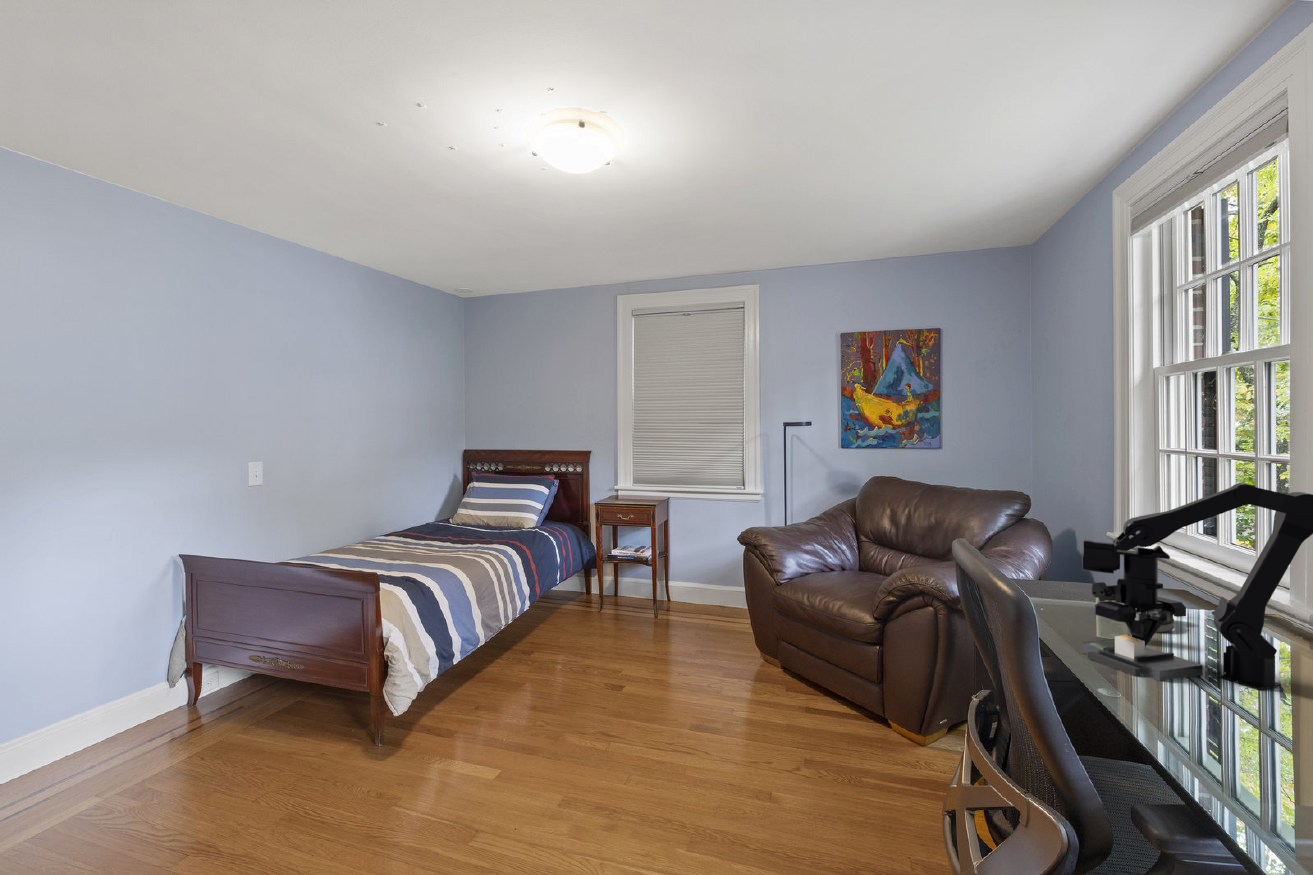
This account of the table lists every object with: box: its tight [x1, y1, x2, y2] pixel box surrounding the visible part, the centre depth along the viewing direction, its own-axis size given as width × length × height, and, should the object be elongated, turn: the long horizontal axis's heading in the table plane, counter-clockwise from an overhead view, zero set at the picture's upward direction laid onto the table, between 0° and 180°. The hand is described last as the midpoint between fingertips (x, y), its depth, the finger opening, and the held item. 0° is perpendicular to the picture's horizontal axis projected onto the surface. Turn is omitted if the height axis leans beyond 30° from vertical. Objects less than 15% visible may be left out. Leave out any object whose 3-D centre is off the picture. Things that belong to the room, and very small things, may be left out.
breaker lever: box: [1115, 635, 1145, 659], centre depth 126 cm, size 4×3×4 cm
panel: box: [1081, 640, 1204, 682], centre depth 127 cm, size 16×12×3 cm
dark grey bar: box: [1086, 651, 1141, 677], centre depth 125 cm, size 10×1×1 cm, turn 15°
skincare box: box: [1095, 597, 1131, 639], centre depth 143 cm, size 6×4×12 cm
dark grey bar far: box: [1082, 638, 1115, 644], centre depth 136 cm, size 1×10×1 cm, turn 105°
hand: (1139, 648), depth 127 cm, fingers closed
